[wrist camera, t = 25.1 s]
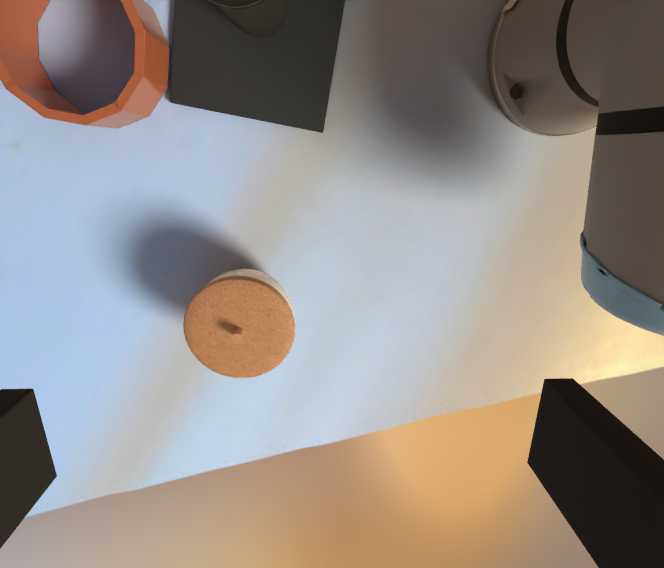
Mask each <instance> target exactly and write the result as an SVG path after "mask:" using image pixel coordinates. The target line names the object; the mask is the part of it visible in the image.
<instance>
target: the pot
mask: <svg viewBox="0 0 664 568" xmlns="http://www.w3.org/2000/svg"><path fill="white" fill-rule="evenodd" d="M49 2H50V0H0V79H1V81H2V83H3V84H4V86H5V88H6V89H7V90H8V91H10V92H11V93H12V94H14V95H15V96H16V97H18V98H19V99H20V100H22V101H23V102H24V103H26V104H27V105H28V106H30V107H31V108H32V109H34V110H35V111H36V112H38V113H39V114H40V115H42V116H43V117H45V118H49V119H54V120H60V121H65V122H70V123H76V124H81V125H87V126H98V127H108V128H120V127H123V126H125V125H128V124H130V123H133V122H136V121H138V120H141V119H143V118H146V117H148V116H149V115H150V114H151V112H152V111H153V109H154V108H155V106H156V105H157V103H158V102H159V100H160V99H161V97H162V96H163V94H164V93H165V91H166V90H167V88H168V79H169V59H170V47H169V45H168V43H167V40H166V38H165V36H164V33H163V31H162V29H161V27H160V24H159V22H158V20H157V17H156V15H155V13H154V10H153V9H152V8H151V7H150V6H149V5H148V4H147V3H146V2H145V1H144V0H121V3H122V5H123V7H124V9H125V11H126V14H127V16H128V18H129V20H130V22H131V25H132V27H133V29H134V31H135V49H134V73H133V75H132V76H131V78H130V80H129V81H128V83H127V84H126V86H125V87H124V89H123V91H122V92H121V94H120V95H119V97H118V98H117V100H116V102H115V103H112V104H110V105H107V106H105V107H102V108H100V109H97V110H95V111H92V112H90V113H87V114H84V113H83V112H82V111H81V110H79V109H78V108H77V107H75V106H74V105H73V104H72V103H70V102H69V101H68V100H66V99H65V98H64V97H63V96H61V95H60V94H59V93H57V92H56V90H55V88H54V86H53V84H52V82H51V81H50V79H49V77H48V75H47V73H46V71H45V69H44V67H43V66H42V64H41V62H40V60H39V45H38V21H39V20H40V18H41V16H42V14H43V13H44V11H45V9H46V7H47V5H48V4H49Z"/></svg>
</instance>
